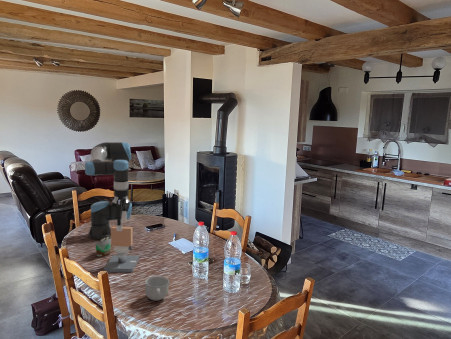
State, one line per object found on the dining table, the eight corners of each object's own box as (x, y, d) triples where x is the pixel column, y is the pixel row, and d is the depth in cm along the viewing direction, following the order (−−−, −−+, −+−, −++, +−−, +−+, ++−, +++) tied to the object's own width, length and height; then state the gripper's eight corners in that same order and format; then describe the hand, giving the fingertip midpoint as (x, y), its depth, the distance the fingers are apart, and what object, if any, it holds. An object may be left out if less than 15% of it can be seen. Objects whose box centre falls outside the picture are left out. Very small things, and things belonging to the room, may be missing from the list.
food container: (104, 259, 183) (104, 243, 182) (95, 258, 185) (94, 241, 183) (116, 251, 195) (116, 235, 194) (107, 250, 196) (106, 234, 195)
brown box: (109, 252, 172) (109, 229, 170) (114, 247, 180) (114, 224, 178) (129, 253, 172) (129, 230, 170) (134, 248, 180) (134, 225, 178)
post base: (112, 258, 185) (112, 244, 184) (138, 258, 186) (138, 245, 185) (103, 272, 168) (103, 257, 167) (132, 272, 169) (132, 257, 168)
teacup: (147, 290, 152) (147, 275, 150) (170, 290, 153) (170, 275, 151) (142, 307, 138) (142, 290, 137) (167, 307, 139) (167, 290, 138)
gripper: (124, 194, 159) (124, 234, 162) (132, 183, 183) (132, 219, 187) (108, 194, 158) (109, 234, 161) (118, 183, 182) (119, 219, 186)
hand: (121, 226), depth 174 cm, fingers open, 13 cm apart
